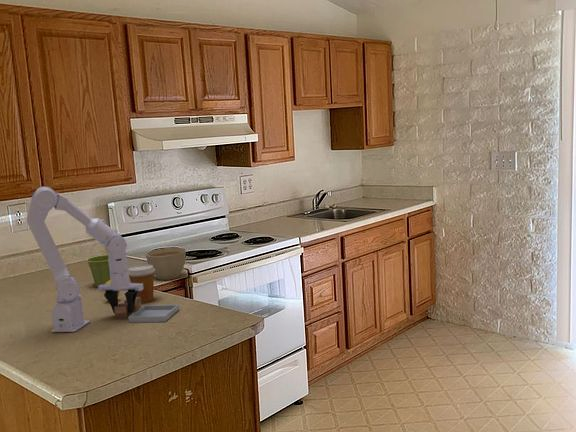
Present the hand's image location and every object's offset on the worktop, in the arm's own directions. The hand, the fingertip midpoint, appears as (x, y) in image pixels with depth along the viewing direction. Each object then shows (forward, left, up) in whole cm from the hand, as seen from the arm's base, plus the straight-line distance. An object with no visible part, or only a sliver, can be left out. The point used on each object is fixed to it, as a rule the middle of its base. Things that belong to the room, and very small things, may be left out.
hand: (123, 312), depth 185 cm
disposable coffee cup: (+18, +1, -2) cm, 18 cm away
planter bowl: (+51, +5, -2) cm, 51 cm away
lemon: (+18, +13, -2) cm, 22 cm away
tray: (0, -11, -1) cm, 11 cm away
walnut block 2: (+7, 0, -2) cm, 7 cm away
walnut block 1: (0, 0, -2) cm, 2 cm away
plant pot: (+41, +28, -2) cm, 50 cm away
